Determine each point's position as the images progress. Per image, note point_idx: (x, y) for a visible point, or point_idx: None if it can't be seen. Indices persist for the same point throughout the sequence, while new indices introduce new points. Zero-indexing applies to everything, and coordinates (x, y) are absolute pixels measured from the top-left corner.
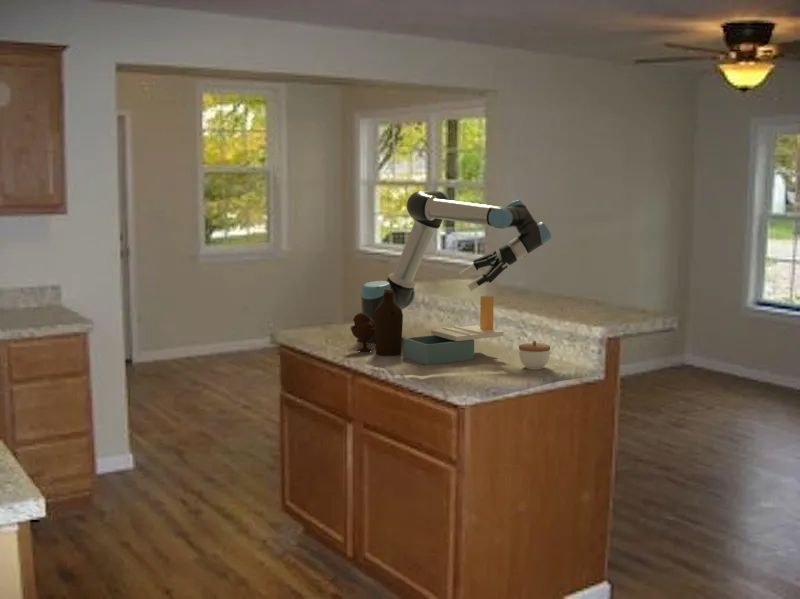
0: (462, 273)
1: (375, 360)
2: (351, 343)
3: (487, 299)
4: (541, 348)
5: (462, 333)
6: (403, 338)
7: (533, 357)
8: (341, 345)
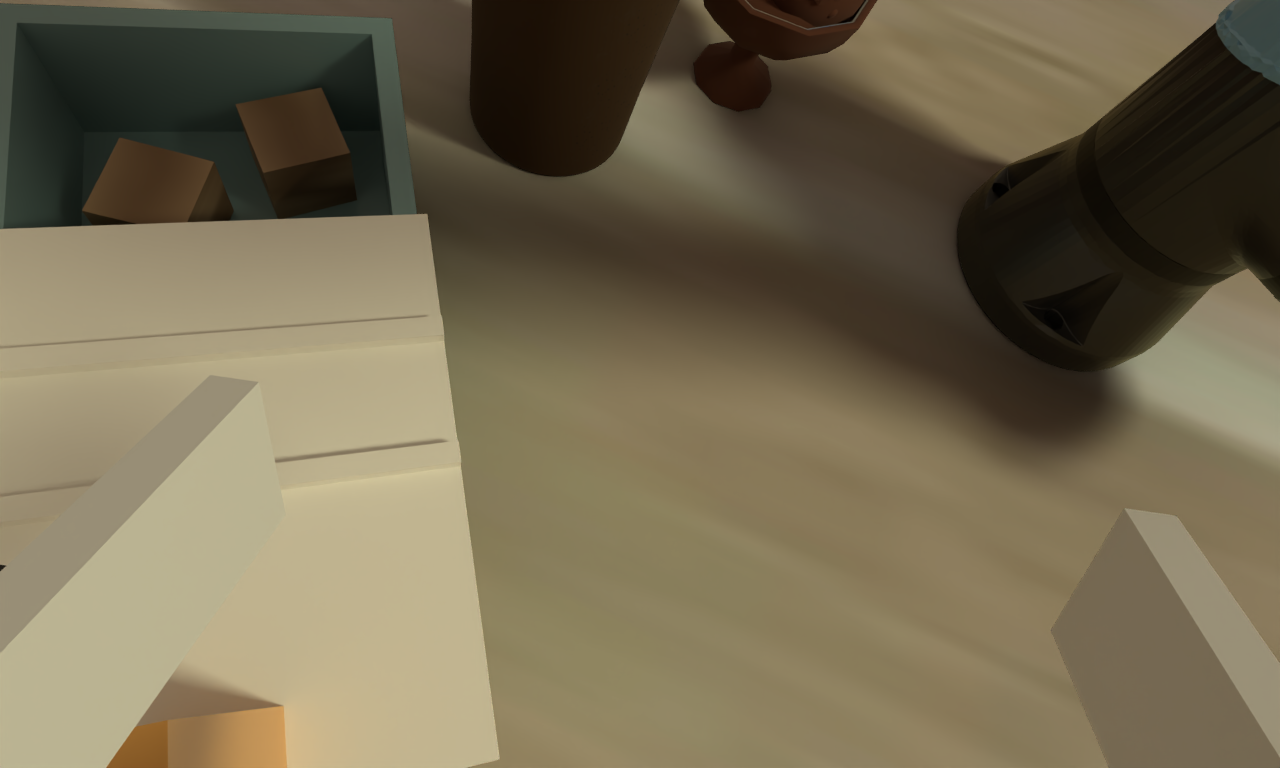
0: (1138, 601)
1: (462, 10)
2: (961, 119)
3: None
4: None
5: (38, 351)
6: (388, 18)
7: None
8: (917, 59)
